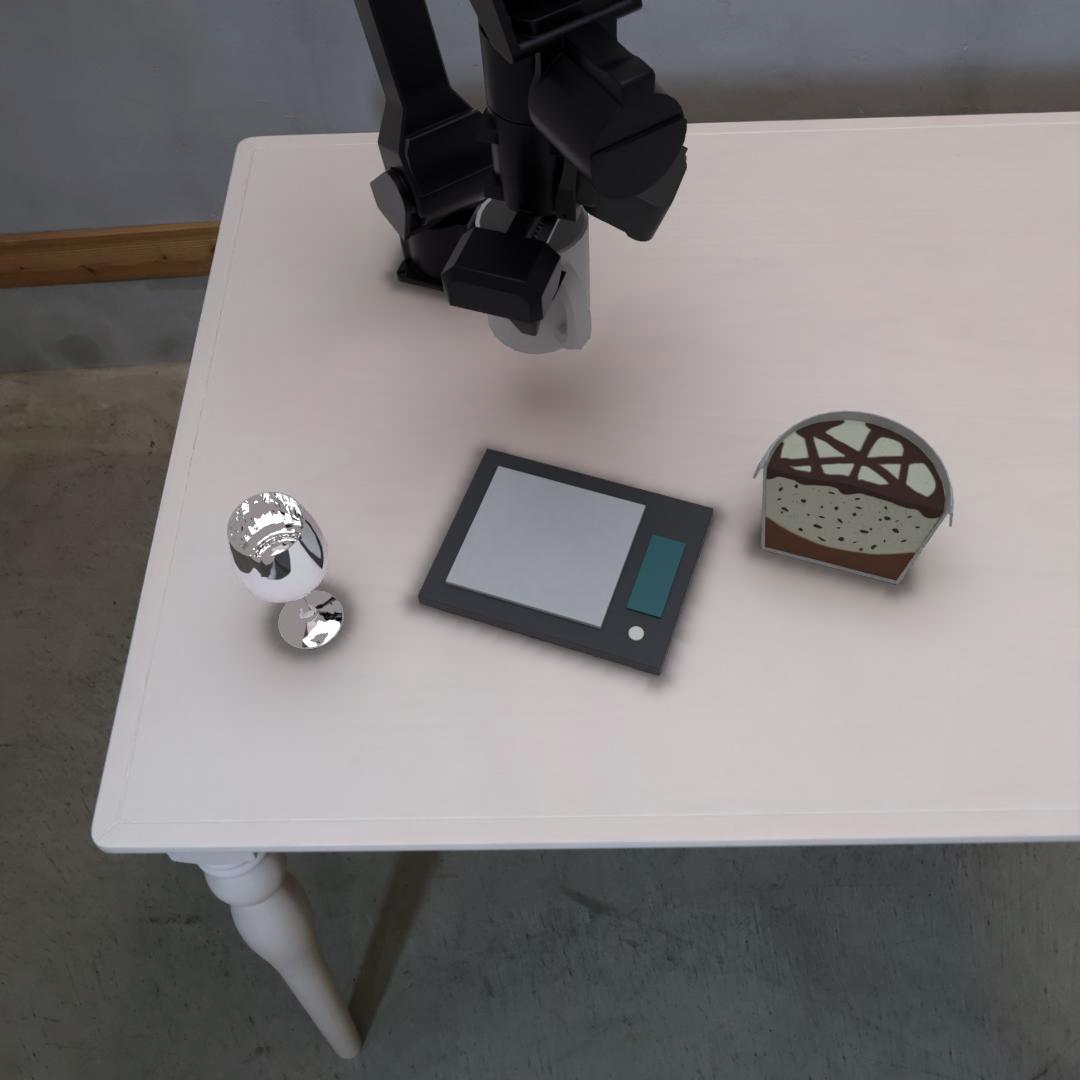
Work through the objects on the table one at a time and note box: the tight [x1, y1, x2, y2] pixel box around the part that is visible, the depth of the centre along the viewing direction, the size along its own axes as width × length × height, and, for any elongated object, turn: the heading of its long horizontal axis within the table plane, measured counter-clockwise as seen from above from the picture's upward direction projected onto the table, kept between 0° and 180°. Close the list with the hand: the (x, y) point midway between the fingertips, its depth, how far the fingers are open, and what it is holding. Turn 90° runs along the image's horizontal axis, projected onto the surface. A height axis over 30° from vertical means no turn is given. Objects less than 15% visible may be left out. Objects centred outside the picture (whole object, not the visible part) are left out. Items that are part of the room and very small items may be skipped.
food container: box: [752, 410, 955, 585], centre depth 74 cm, size 12×6×10 cm, turn 71°
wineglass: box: [226, 491, 345, 650], centre depth 71 cm, size 6×6×12 cm
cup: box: [475, 198, 592, 355], centre depth 75 cm, size 7×10×9 cm
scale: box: [417, 448, 714, 676], centre depth 77 cm, size 17×13×1 cm
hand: (549, 292), depth 76 cm, fingers closed on cup, 7 cm apart
